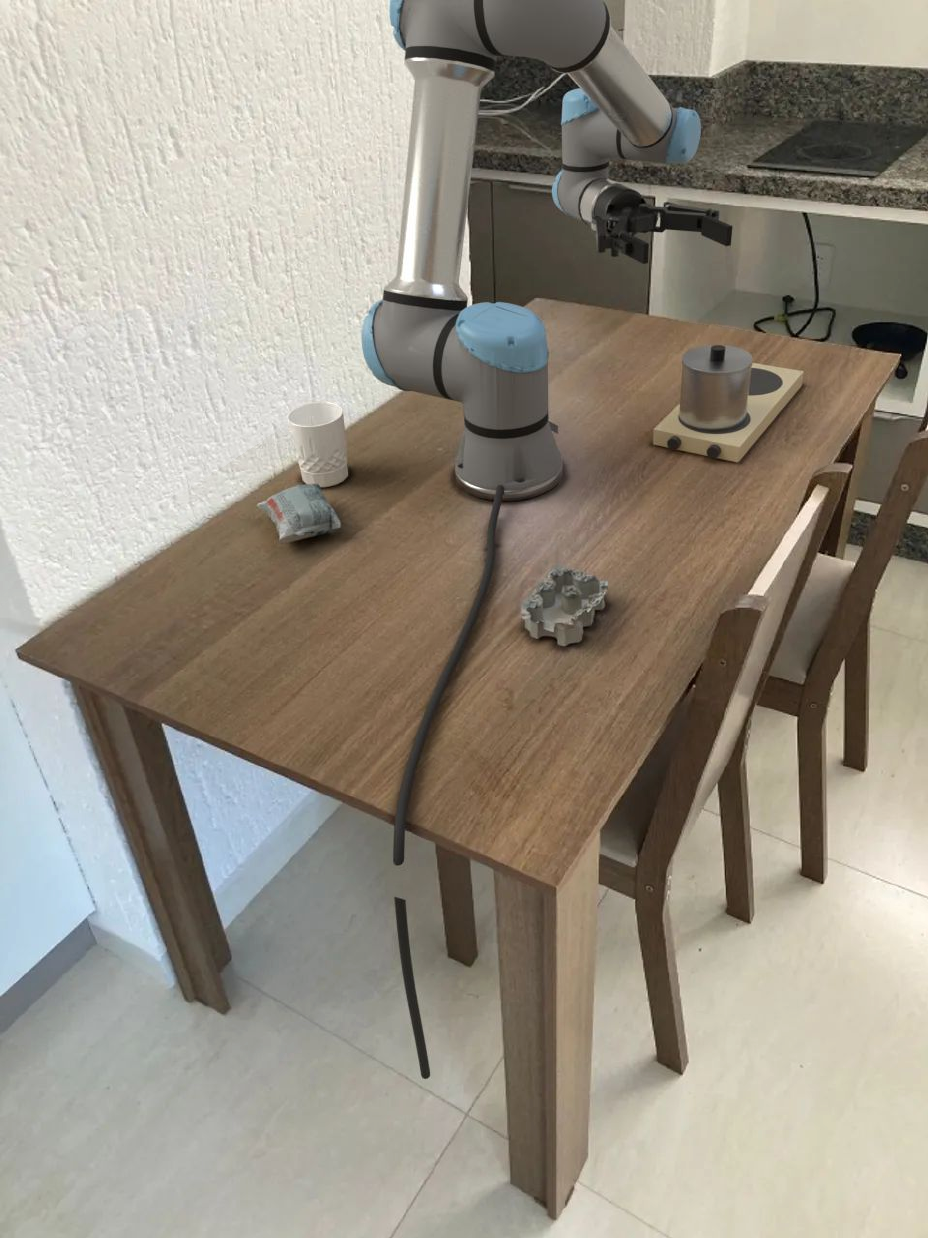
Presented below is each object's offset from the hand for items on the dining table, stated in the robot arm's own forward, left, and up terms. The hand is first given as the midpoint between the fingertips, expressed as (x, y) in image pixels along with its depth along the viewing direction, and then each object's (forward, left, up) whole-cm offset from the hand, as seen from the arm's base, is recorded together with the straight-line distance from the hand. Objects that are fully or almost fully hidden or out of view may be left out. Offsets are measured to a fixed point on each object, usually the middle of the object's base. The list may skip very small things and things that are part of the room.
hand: (688, 244), depth 143 cm
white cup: (-42, +37, -25) cm, 61 cm away
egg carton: (-56, -10, -25) cm, 62 cm away
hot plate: (+1, -8, -25) cm, 26 cm away
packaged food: (-55, +31, -25) cm, 68 cm away
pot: (-5, -7, -22) cm, 24 cm away
